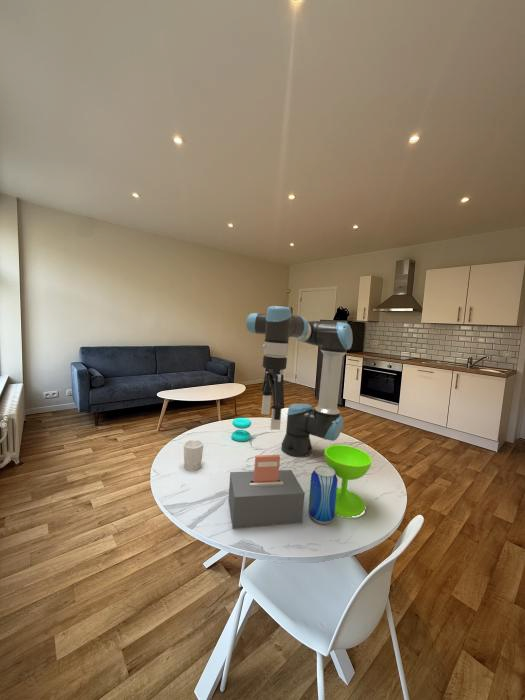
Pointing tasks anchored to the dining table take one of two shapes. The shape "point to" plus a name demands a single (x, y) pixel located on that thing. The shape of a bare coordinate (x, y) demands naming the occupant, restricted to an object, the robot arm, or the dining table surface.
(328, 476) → the beer can
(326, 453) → the wineglass
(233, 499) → the dispenser
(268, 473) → the ticket
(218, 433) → the dining table surface
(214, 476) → the dining table surface
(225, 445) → the dining table surface
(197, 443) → the white cup
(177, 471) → the dining table surface
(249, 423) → the donuts
